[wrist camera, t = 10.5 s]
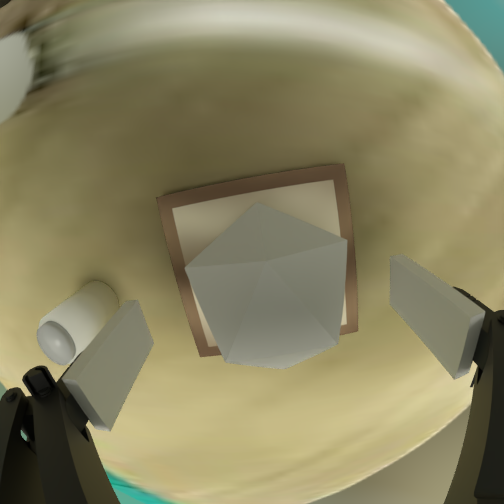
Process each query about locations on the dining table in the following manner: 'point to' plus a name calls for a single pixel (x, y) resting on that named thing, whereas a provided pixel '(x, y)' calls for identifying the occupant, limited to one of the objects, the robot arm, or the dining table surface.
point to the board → (234, 206)
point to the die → (271, 289)
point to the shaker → (76, 322)
